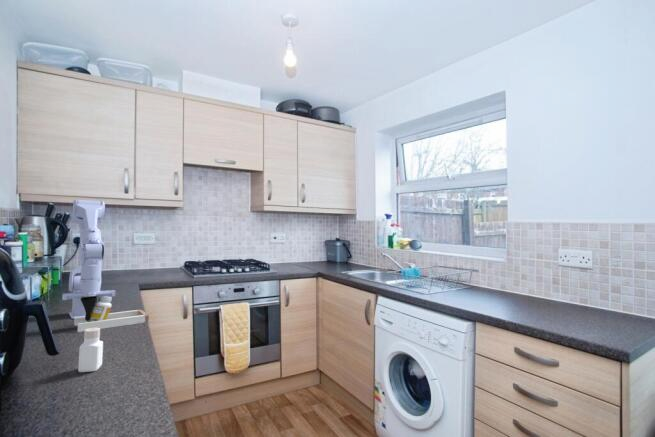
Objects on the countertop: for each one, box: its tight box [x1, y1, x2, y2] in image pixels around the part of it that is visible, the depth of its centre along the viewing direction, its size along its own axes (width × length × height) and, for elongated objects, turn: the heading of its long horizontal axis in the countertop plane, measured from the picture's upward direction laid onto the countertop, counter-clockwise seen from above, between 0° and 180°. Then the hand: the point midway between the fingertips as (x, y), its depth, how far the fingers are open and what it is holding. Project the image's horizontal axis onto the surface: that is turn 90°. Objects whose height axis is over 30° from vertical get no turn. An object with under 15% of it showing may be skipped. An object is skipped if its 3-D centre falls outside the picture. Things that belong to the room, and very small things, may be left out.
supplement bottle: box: [86, 295, 113, 322], centre depth 116 cm, size 5×5×10 cm
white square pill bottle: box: [77, 328, 104, 373], centre depth 81 cm, size 4×4×10 cm
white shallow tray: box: [73, 309, 150, 333], centre depth 119 cm, size 10×21×2 cm, turn 132°
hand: (88, 319), depth 114 cm, fingers closed, pressing on supplement bottle
